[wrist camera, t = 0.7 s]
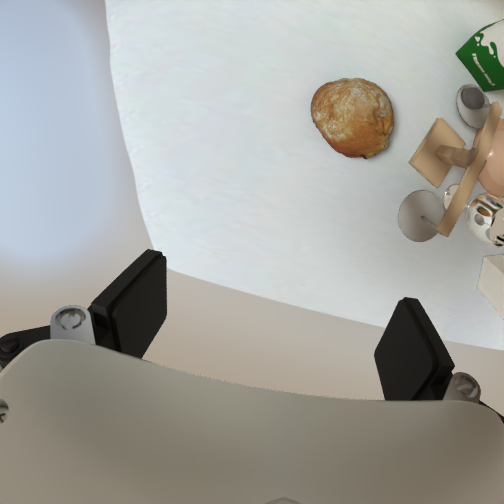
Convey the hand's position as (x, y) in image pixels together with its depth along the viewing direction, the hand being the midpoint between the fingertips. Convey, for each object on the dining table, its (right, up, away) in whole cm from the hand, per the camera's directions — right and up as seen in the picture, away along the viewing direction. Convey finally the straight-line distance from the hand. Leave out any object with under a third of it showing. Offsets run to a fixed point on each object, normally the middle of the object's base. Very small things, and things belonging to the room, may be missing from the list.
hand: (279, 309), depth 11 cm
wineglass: (+28, +10, +22) cm, 37 cm away
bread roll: (+11, +19, +21) cm, 30 cm away
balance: (+23, +16, +20) cm, 34 cm away
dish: (+36, +16, +18) cm, 43 cm away
